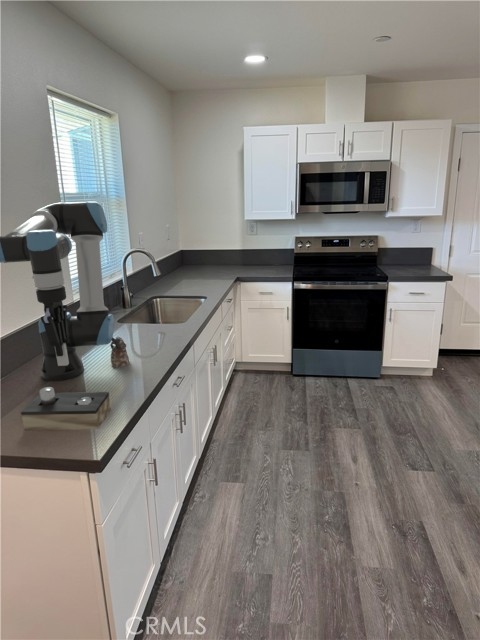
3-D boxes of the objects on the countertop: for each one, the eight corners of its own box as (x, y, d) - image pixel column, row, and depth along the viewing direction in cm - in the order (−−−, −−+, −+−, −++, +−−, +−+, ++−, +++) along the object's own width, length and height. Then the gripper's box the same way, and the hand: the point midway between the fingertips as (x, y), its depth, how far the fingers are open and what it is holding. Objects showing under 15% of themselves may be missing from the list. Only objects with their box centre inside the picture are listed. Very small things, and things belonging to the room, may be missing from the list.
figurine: (125, 368, 170) (121, 342, 164) (108, 366, 171) (104, 340, 165) (132, 359, 176) (129, 333, 171) (115, 357, 177) (112, 332, 172)
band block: (43, 410, 138) (40, 393, 136) (111, 409, 137) (108, 391, 135) (24, 430, 126) (20, 411, 125) (98, 429, 125) (95, 410, 124)
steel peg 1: (46, 403, 133) (43, 387, 131) (58, 403, 132) (56, 386, 131) (40, 409, 129) (36, 392, 127) (53, 409, 129) (50, 392, 127)
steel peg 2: (82, 413, 133) (80, 397, 132) (95, 412, 133) (93, 396, 131) (77, 419, 129) (75, 403, 128) (90, 419, 129) (88, 402, 128)
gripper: (46, 282, 126) (59, 356, 133) (25, 292, 114) (41, 374, 121) (72, 281, 126) (83, 355, 133) (54, 291, 114) (68, 373, 121)
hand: (63, 364), depth 127 cm, fingers closed
